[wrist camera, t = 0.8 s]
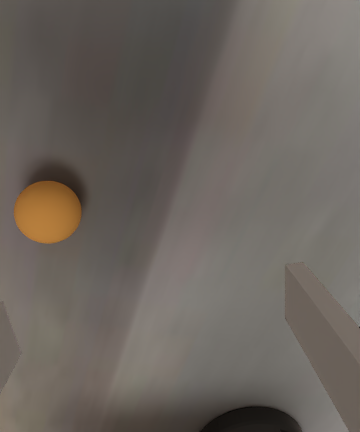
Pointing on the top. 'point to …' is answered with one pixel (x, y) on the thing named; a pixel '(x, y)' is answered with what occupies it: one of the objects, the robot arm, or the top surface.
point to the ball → (47, 212)
